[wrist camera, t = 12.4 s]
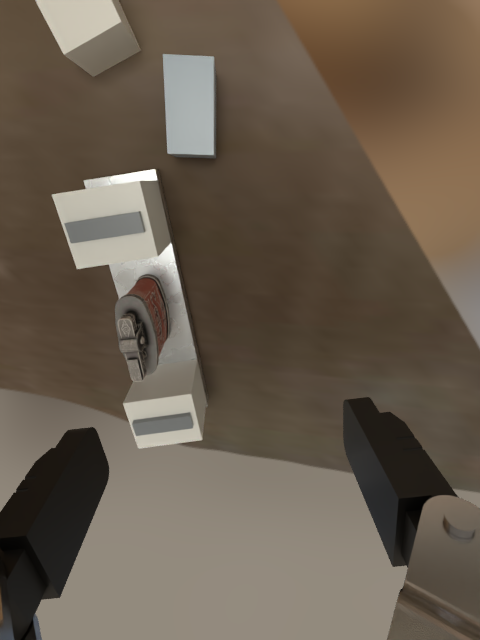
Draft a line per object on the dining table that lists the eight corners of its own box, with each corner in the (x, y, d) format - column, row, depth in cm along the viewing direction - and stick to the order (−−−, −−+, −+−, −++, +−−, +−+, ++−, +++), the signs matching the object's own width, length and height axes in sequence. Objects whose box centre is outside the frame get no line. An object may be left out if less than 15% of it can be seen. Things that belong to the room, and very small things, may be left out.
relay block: (93, 77, 31) (63, 54, 25) (54, -1, 29) (12, -44, 23) (141, 50, 30) (121, 21, 25) (104, -31, 28) (73, -83, 22)
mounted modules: (152, 407, 43) (136, 452, 36) (86, 191, 33) (47, 195, 26) (206, 400, 42) (201, 444, 35) (157, 180, 32) (137, 180, 25)
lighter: (131, 275, 36) (97, 308, 27) (162, 272, 36) (139, 304, 27) (145, 342, 39) (120, 392, 30) (174, 339, 39) (157, 389, 30)
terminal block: (175, 157, 34) (167, 153, 29) (172, 72, 31) (162, 54, 26) (216, 158, 34) (213, 155, 29) (216, 74, 31) (213, 56, 26)
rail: (157, 404, 45) (153, 414, 43) (91, 180, 34) (83, 180, 32) (208, 397, 45) (207, 406, 43) (159, 169, 34) (155, 169, 32)
